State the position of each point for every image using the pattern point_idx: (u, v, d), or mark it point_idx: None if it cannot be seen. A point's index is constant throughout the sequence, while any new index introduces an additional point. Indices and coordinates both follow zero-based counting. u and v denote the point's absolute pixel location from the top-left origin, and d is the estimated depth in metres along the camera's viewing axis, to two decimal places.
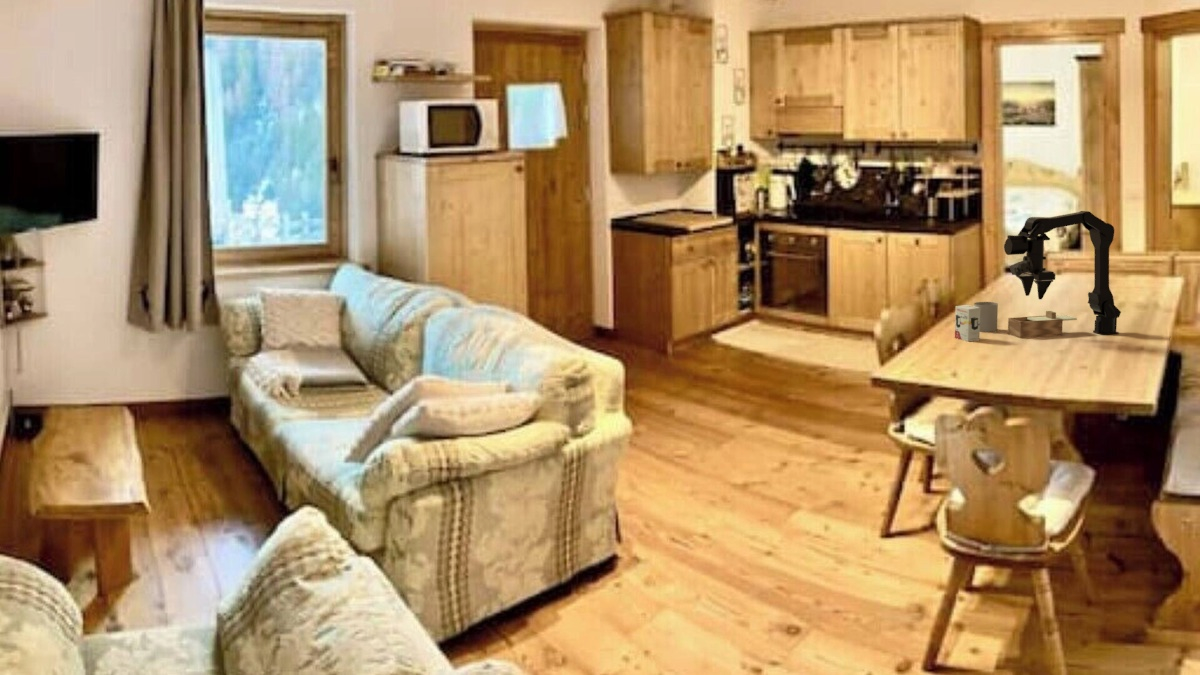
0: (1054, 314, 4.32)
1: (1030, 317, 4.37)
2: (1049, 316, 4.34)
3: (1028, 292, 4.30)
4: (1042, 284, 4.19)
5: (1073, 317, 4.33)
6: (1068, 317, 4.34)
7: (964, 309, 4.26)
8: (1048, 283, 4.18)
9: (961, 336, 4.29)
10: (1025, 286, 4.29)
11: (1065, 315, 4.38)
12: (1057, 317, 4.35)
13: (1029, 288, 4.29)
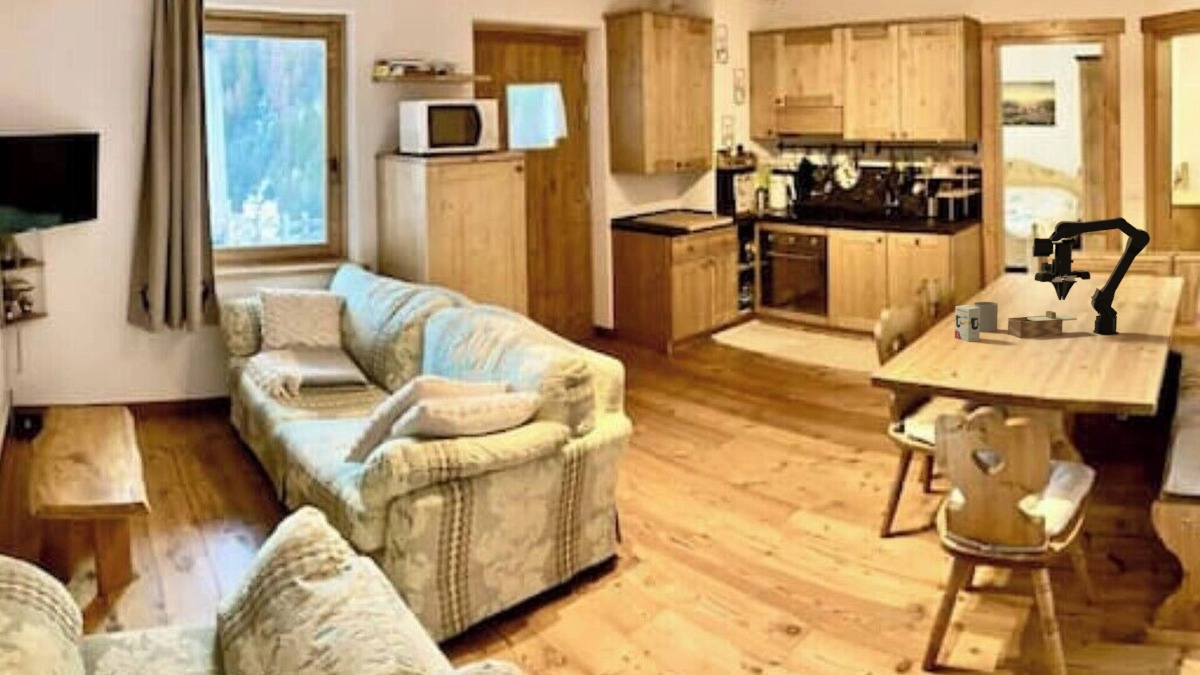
0: (1054, 314, 4.32)
1: (1030, 317, 4.37)
2: (1049, 316, 4.34)
3: (1063, 296, 4.33)
4: (1057, 285, 4.32)
5: (1073, 317, 4.33)
6: (1068, 317, 4.34)
7: (964, 309, 4.26)
8: (1058, 285, 4.31)
9: (961, 336, 4.29)
10: (1062, 290, 4.34)
11: (1065, 315, 4.38)
12: (1057, 317, 4.35)
13: (1064, 292, 4.33)
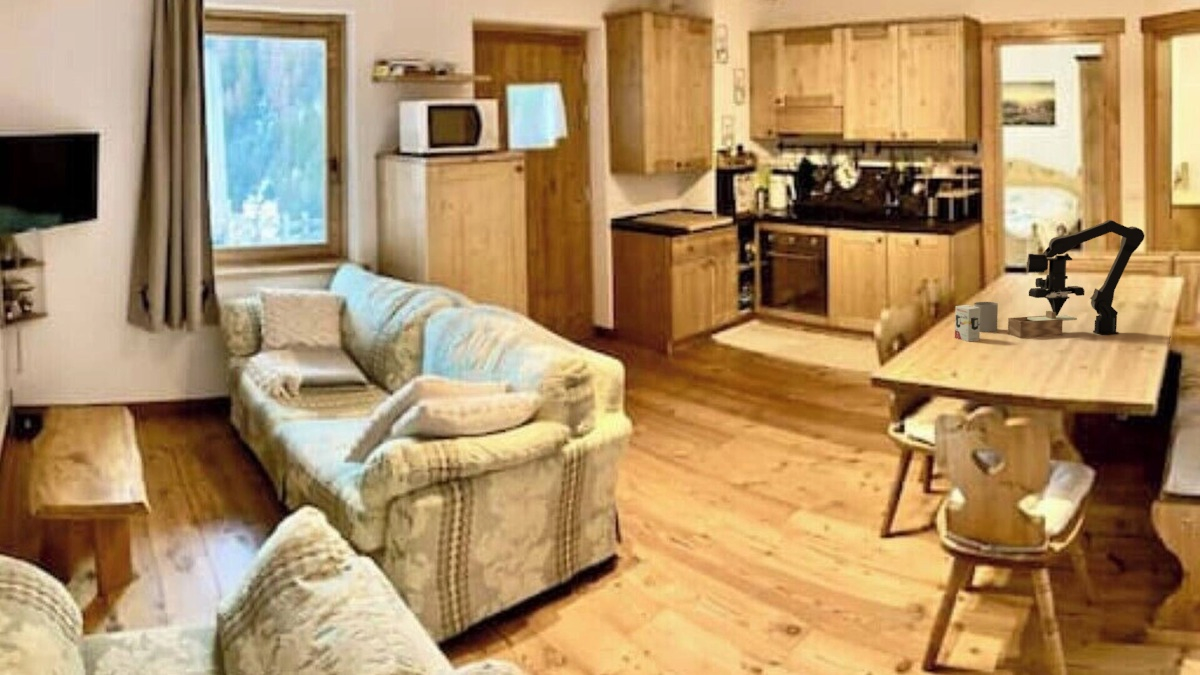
0: (1054, 314, 4.32)
1: (1030, 317, 4.37)
2: (1049, 316, 4.34)
3: (1056, 312, 4.34)
4: (1052, 301, 4.33)
5: (1073, 317, 4.33)
6: (1068, 317, 4.34)
7: (964, 309, 4.26)
8: (1053, 301, 4.31)
9: (961, 336, 4.29)
10: None
11: (1065, 315, 4.38)
12: (1057, 317, 4.35)
13: None
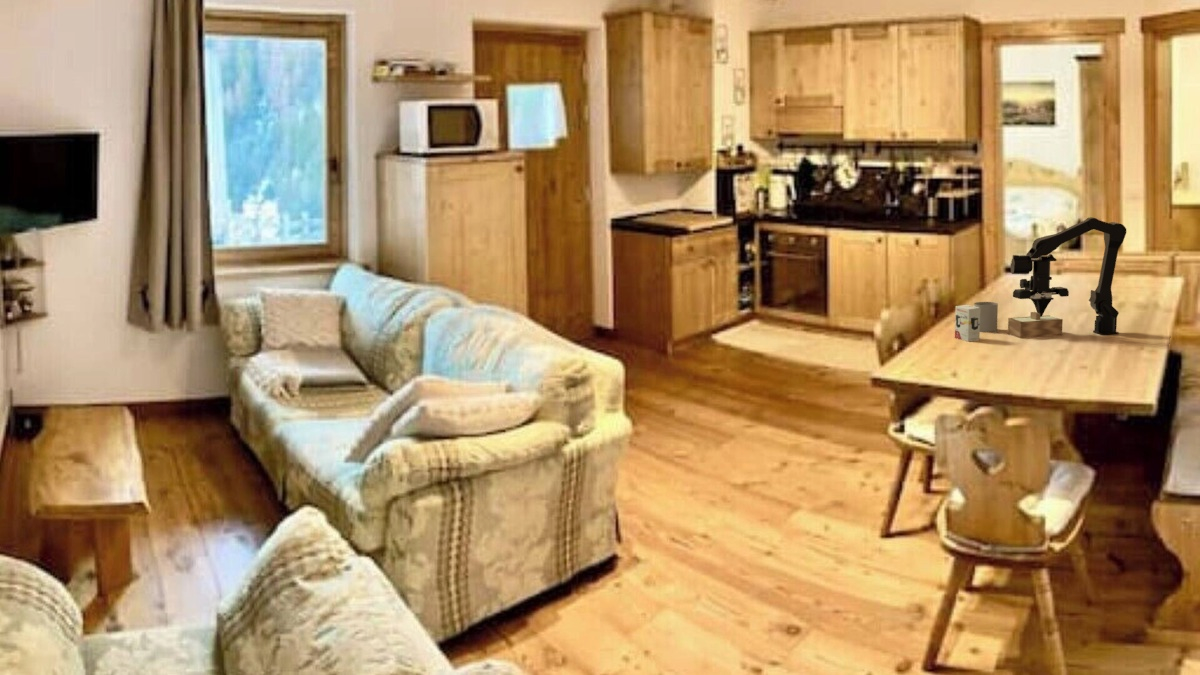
0: (1038, 315, 4.31)
1: (1014, 318, 4.36)
2: (1033, 317, 4.33)
3: None
4: (1037, 302, 4.32)
5: (1057, 318, 4.33)
6: (1052, 318, 4.33)
7: (964, 309, 4.26)
8: (1037, 302, 4.30)
9: (961, 336, 4.29)
10: None
11: (1050, 316, 4.37)
12: (1041, 318, 4.34)
13: None
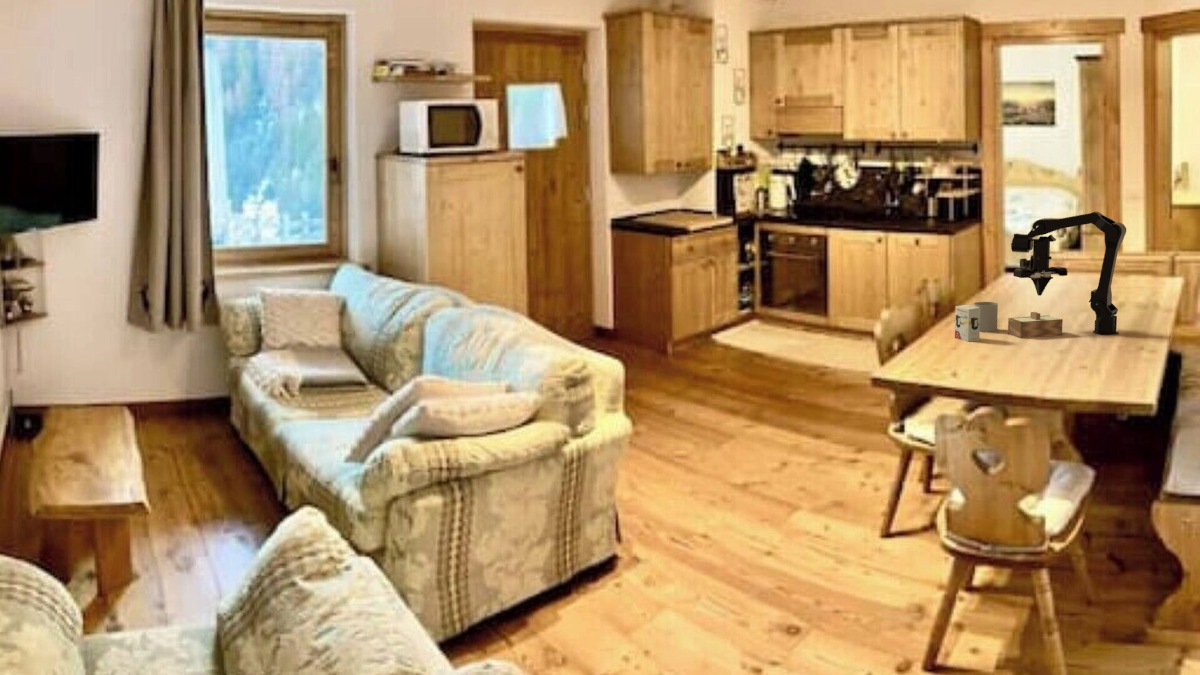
0: (1038, 315, 4.31)
1: (1014, 318, 4.36)
2: (1033, 317, 4.33)
3: None
4: (1036, 281, 4.43)
5: (1057, 318, 4.33)
6: (1052, 318, 4.33)
7: (964, 309, 4.26)
8: (1037, 281, 4.41)
9: (961, 336, 4.29)
10: None
11: (1050, 316, 4.37)
12: (1041, 318, 4.34)
13: (1041, 288, 4.43)
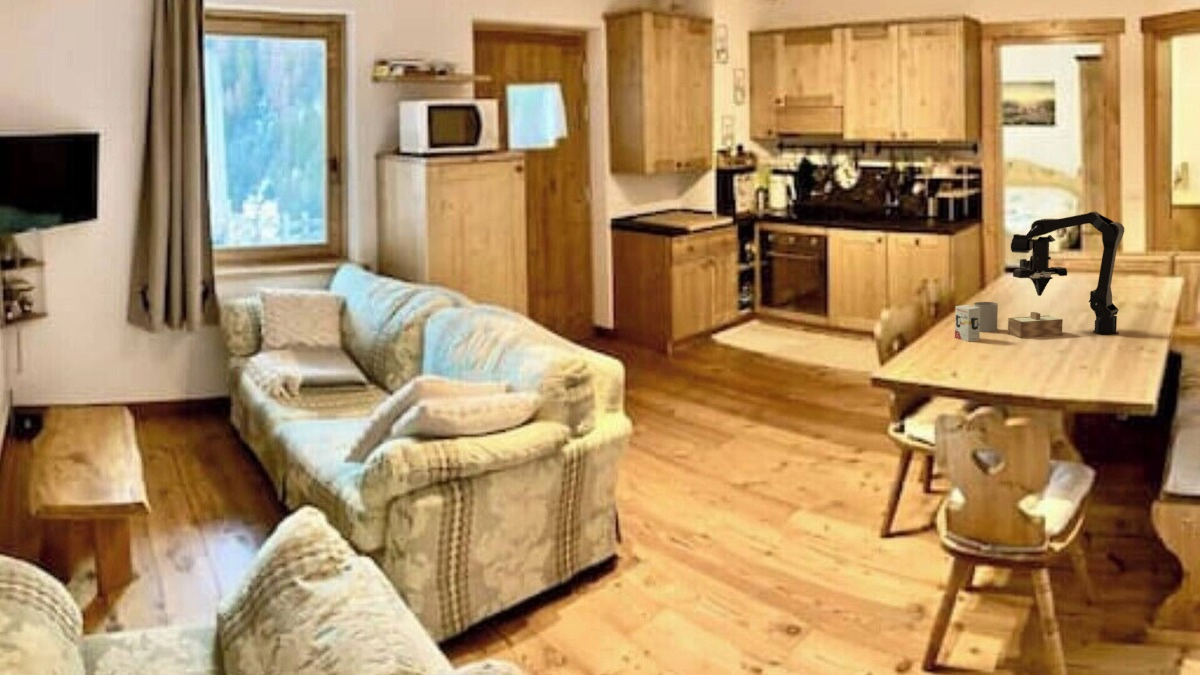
0: (1038, 315, 4.31)
1: (1014, 318, 4.36)
2: (1033, 317, 4.33)
3: None
4: (1036, 281, 4.44)
5: (1057, 318, 4.33)
6: (1052, 318, 4.33)
7: (964, 309, 4.26)
8: (1037, 281, 4.42)
9: (961, 336, 4.29)
10: None
11: (1050, 316, 4.37)
12: (1041, 318, 4.34)
13: (1041, 288, 4.44)
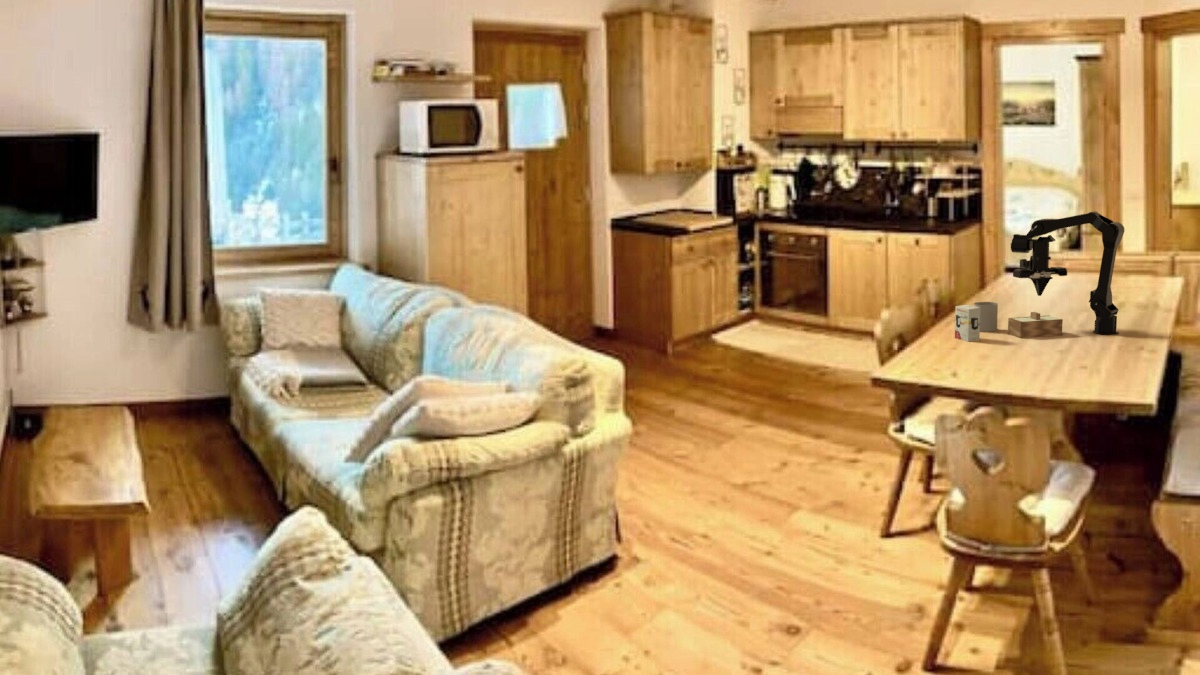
0: (1038, 315, 4.31)
1: (1014, 318, 4.36)
2: (1033, 317, 4.33)
3: None
4: (1036, 281, 4.44)
5: (1057, 318, 4.33)
6: (1052, 318, 4.33)
7: (964, 309, 4.26)
8: (1037, 281, 4.42)
9: (961, 336, 4.29)
10: None
11: (1050, 316, 4.37)
12: (1041, 318, 4.34)
13: (1041, 288, 4.44)
